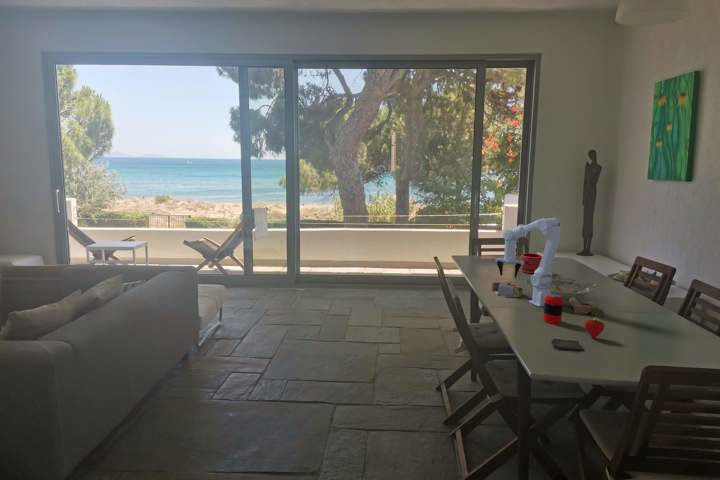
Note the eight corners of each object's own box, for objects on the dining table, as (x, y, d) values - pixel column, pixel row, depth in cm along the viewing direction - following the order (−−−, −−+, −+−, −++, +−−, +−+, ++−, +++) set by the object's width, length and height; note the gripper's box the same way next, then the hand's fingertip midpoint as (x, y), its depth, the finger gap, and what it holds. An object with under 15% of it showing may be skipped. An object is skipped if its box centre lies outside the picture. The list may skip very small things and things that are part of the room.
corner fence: (521, 295, 263) (522, 287, 263) (502, 296, 261) (502, 288, 261) (510, 289, 276) (511, 282, 275) (491, 290, 274) (492, 282, 273)
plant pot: (515, 271, 326) (517, 253, 324) (530, 269, 332) (532, 252, 330) (530, 275, 314) (531, 257, 313) (545, 273, 320) (546, 256, 318)
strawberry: (581, 334, 203) (583, 311, 201) (600, 336, 202) (602, 312, 200) (585, 339, 197) (587, 315, 196) (605, 341, 196) (607, 317, 195)
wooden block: (599, 308, 230) (591, 298, 247) (575, 306, 232) (569, 296, 249) (599, 315, 230) (591, 305, 247) (574, 313, 233) (568, 303, 250)
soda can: (550, 324, 215) (552, 298, 214) (539, 319, 223) (541, 294, 221) (564, 323, 217) (567, 297, 216) (553, 318, 225) (555, 293, 223)
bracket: (500, 291, 272) (500, 282, 271) (515, 293, 268) (515, 284, 268) (497, 294, 263) (498, 285, 263) (513, 296, 260) (513, 287, 259)
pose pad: (494, 292, 270) (494, 291, 270) (509, 291, 272) (509, 291, 272) (502, 297, 260) (502, 296, 260) (518, 296, 261) (518, 296, 261)
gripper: (494, 251, 264) (493, 275, 266) (522, 254, 257) (520, 279, 259) (497, 249, 270) (496, 273, 272) (524, 252, 263) (523, 276, 265)
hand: (508, 276), depth 266 cm, fingers open, 7 cm apart
